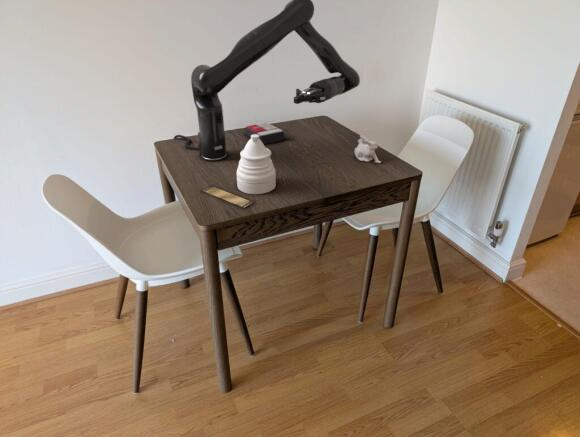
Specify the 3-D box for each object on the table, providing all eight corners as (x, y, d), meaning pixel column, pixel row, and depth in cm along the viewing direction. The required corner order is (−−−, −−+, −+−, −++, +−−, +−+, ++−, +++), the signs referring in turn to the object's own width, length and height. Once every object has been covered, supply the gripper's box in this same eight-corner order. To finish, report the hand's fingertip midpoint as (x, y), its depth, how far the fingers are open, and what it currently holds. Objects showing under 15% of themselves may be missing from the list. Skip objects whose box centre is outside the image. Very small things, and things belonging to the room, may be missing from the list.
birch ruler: (203, 191, 139) (203, 190, 138) (212, 186, 141) (212, 186, 141) (244, 208, 129) (244, 207, 129) (253, 203, 132) (252, 202, 132)
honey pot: (278, 192, 138) (277, 139, 129) (238, 195, 136) (234, 142, 127) (273, 175, 149) (272, 125, 139) (236, 178, 147) (232, 127, 138)
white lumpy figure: (382, 162, 158) (385, 138, 153) (366, 167, 155) (369, 142, 150) (361, 152, 167) (363, 128, 162) (345, 156, 163) (347, 132, 158)
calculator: (266, 121, 187) (284, 129, 176) (267, 130, 189) (284, 139, 178) (244, 125, 182) (260, 134, 171) (245, 135, 184) (261, 144, 173)
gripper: (309, 77, 158) (280, 86, 146) (339, 82, 151) (311, 92, 139) (308, 97, 162) (280, 108, 150) (338, 103, 155) (311, 115, 143)
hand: (295, 100), depth 145 cm, fingers closed
